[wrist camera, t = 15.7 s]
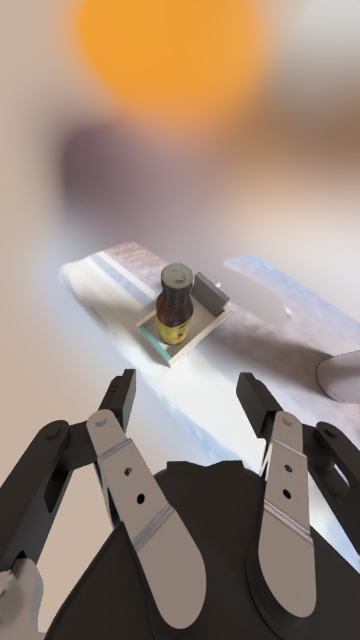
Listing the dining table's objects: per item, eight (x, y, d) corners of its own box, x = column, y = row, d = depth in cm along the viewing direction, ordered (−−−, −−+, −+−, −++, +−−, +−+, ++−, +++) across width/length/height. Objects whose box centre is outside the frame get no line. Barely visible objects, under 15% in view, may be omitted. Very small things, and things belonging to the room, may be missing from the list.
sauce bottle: (180, 350, 37) (192, 309, 19) (154, 340, 38) (140, 291, 19) (190, 324, 40) (208, 266, 22) (165, 315, 40) (162, 251, 22)
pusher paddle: (199, 287, 44) (205, 267, 37) (224, 310, 41) (236, 293, 34) (191, 294, 43) (195, 274, 36) (216, 318, 40) (226, 302, 33)
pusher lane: (193, 287, 45) (195, 278, 41) (226, 318, 42) (231, 310, 38) (138, 330, 40) (135, 323, 36) (171, 368, 37) (171, 365, 33)
